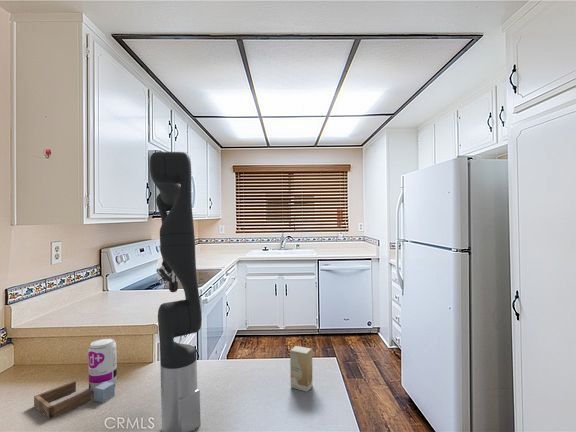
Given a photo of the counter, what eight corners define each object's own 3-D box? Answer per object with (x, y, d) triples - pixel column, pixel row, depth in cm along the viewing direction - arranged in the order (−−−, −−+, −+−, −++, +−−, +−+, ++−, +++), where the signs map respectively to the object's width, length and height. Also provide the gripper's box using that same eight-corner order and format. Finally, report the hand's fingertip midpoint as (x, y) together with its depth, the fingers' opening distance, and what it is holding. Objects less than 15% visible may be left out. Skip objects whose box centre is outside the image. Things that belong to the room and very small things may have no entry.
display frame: (91, 400, 99) (91, 390, 99) (49, 419, 90) (49, 408, 90) (74, 389, 106) (74, 380, 106) (34, 406, 97) (34, 396, 97)
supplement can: (103, 394, 102) (102, 347, 103) (82, 391, 105) (82, 345, 105) (122, 381, 110) (121, 338, 111) (103, 379, 112) (102, 337, 113)
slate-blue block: (114, 395, 102) (114, 383, 102) (103, 402, 98) (103, 389, 98) (105, 393, 103) (105, 381, 103) (94, 400, 99) (93, 387, 99)
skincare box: (290, 388, 103) (288, 350, 103) (296, 381, 106) (294, 345, 107) (308, 392, 100) (307, 353, 100) (313, 385, 103) (312, 348, 104)
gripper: (162, 247, 112) (163, 296, 111) (193, 244, 123) (194, 289, 122) (150, 246, 116) (151, 294, 116) (181, 244, 127) (182, 287, 127)
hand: (173, 291), depth 119 cm, fingers closed
